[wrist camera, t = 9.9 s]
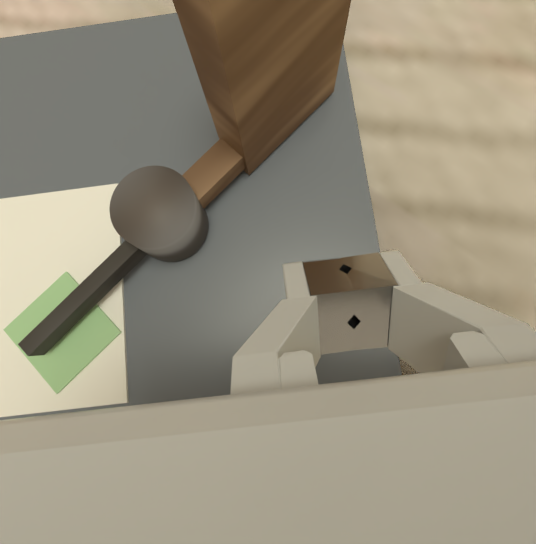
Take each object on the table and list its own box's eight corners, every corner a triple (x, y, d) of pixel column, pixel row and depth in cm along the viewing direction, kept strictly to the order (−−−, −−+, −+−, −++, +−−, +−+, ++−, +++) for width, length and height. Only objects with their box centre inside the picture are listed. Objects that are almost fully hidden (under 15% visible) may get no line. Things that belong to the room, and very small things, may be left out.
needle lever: (346, 102, 21) (409, -148, 10) (70, 376, 19) (-212, 425, 8) (295, 61, 22) (304, -214, 11) (23, 322, 20) (-295, 301, 9)
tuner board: (414, 472, 18) (423, 481, 17) (-13, 517, 19) (-33, 529, 18) (332, 1, 24) (334, -16, 22) (-2, 49, 24) (-17, 34, 23)
